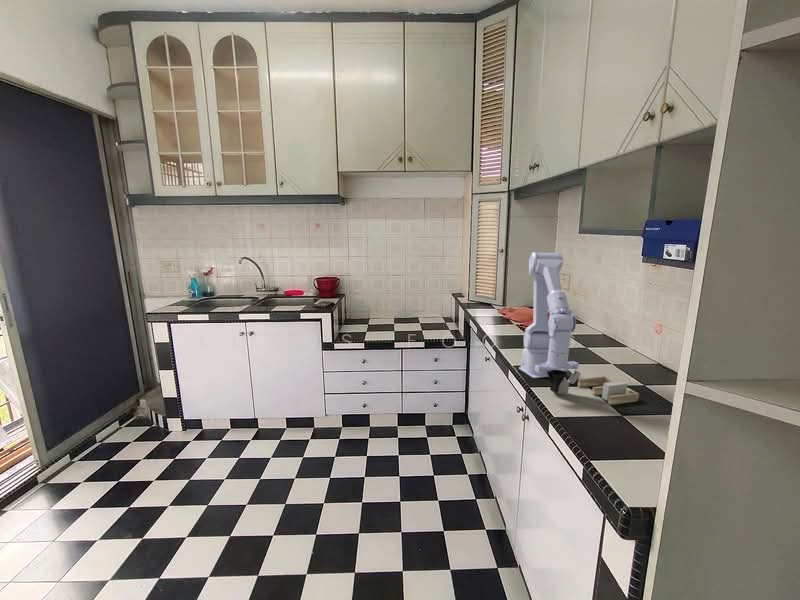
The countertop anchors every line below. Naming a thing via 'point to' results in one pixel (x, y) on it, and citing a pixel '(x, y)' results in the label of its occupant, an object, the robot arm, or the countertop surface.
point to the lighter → (565, 383)
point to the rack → (616, 399)
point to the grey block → (613, 389)
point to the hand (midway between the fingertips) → (554, 391)
